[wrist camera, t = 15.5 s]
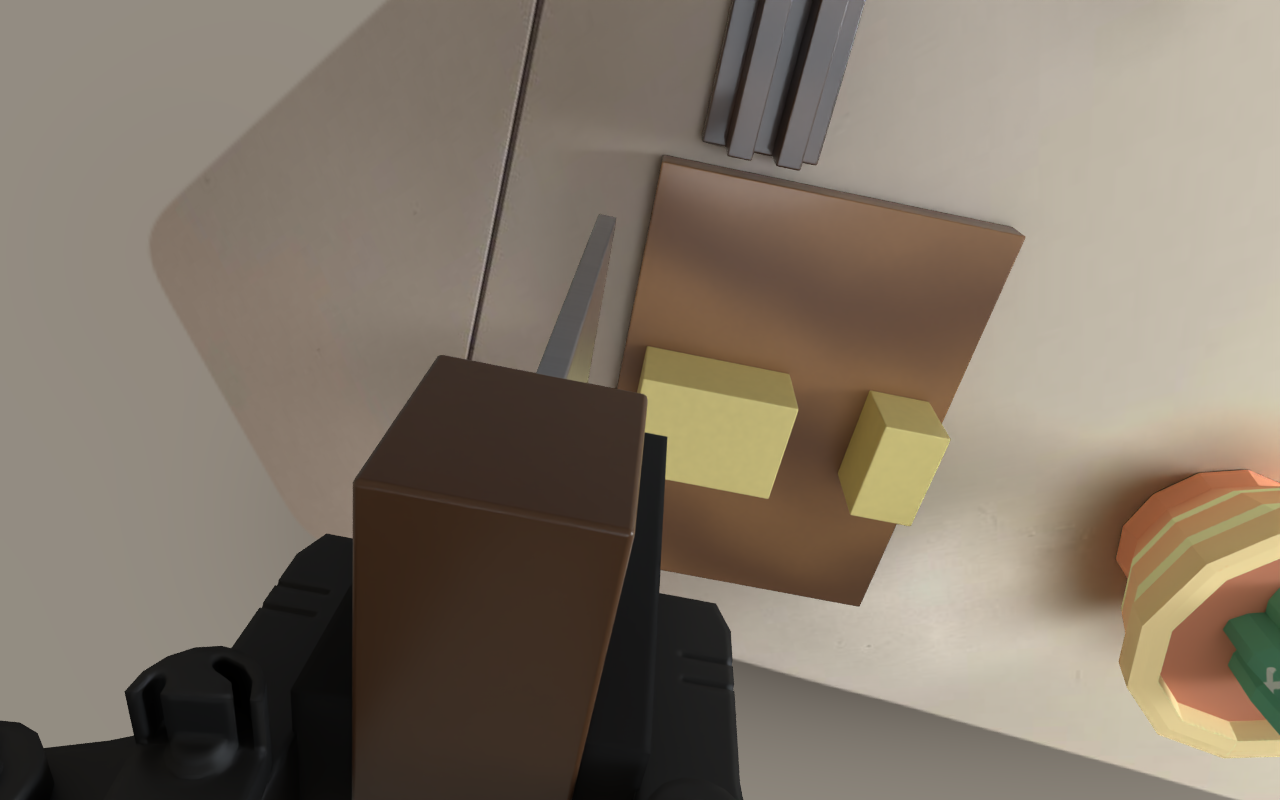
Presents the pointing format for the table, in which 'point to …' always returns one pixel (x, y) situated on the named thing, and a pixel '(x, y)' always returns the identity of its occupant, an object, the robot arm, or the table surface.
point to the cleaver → (493, 568)
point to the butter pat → (892, 458)
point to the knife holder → (780, 77)
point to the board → (805, 350)
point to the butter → (718, 420)
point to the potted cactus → (1206, 612)
